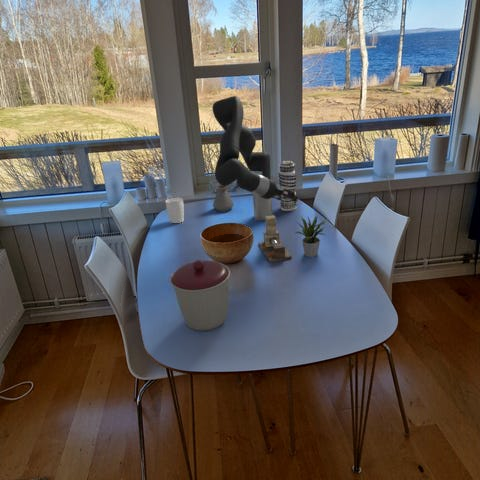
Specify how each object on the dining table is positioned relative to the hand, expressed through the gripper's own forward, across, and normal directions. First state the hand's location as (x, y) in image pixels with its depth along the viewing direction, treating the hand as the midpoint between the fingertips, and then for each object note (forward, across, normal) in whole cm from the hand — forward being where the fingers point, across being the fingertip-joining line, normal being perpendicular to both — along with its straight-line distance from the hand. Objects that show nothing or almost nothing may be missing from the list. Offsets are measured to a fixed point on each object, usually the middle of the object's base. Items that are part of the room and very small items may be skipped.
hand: (288, 198), depth 162 cm
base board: (+6, +5, +22) cm, 23 cm away
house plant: (+12, -9, +20) cm, 25 cm away
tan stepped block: (+6, +8, +19) cm, 21 cm away
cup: (-2, +69, +19) cm, 72 cm away
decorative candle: (+41, +35, -4) cm, 54 cm away
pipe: (+4, +5, +19) cm, 20 cm away
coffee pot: (+24, +61, +3) cm, 65 cm away
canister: (-36, -12, +50) cm, 62 cm away
